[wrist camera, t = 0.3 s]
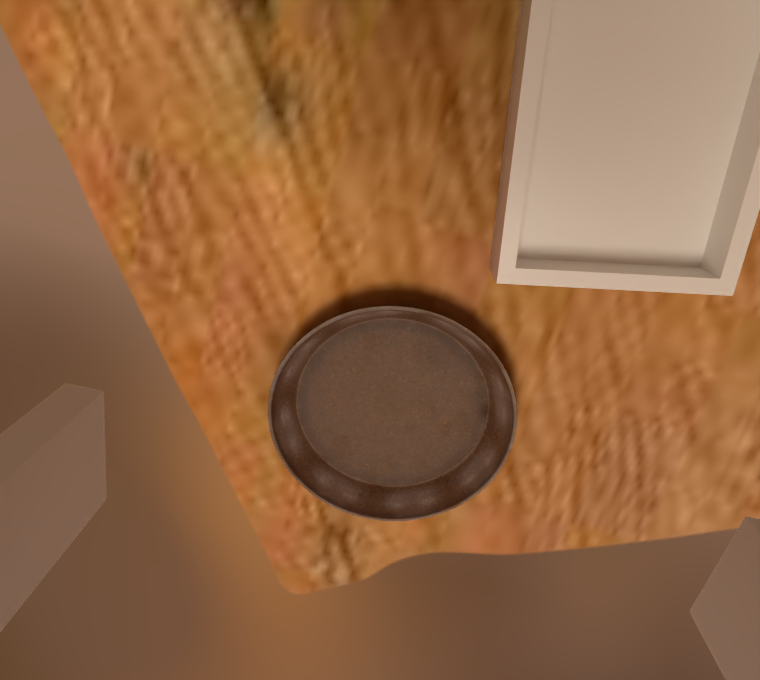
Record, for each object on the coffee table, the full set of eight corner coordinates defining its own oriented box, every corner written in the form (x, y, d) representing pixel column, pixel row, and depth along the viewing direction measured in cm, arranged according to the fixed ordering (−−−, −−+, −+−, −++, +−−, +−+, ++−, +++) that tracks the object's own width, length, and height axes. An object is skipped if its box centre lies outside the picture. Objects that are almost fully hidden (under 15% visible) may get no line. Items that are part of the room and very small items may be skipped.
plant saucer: (561, 375, 39) (572, 395, 36) (424, 530, 46) (424, 558, 43) (353, 243, 36) (348, 255, 34) (239, 428, 43) (226, 451, 40)
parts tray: (528, -58, 29) (541, -79, 26) (797, -51, 28) (846, -72, 25) (489, 267, 36) (496, 283, 33) (704, 278, 35) (732, 295, 32)
